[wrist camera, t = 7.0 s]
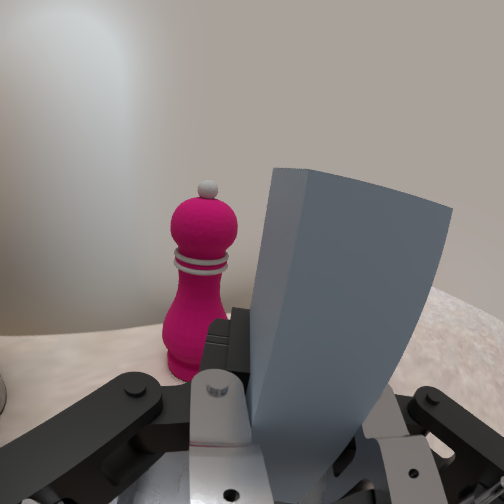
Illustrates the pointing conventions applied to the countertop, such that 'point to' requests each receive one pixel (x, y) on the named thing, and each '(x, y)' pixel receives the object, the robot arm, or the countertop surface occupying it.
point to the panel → (332, 314)
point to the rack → (182, 484)
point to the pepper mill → (197, 276)
